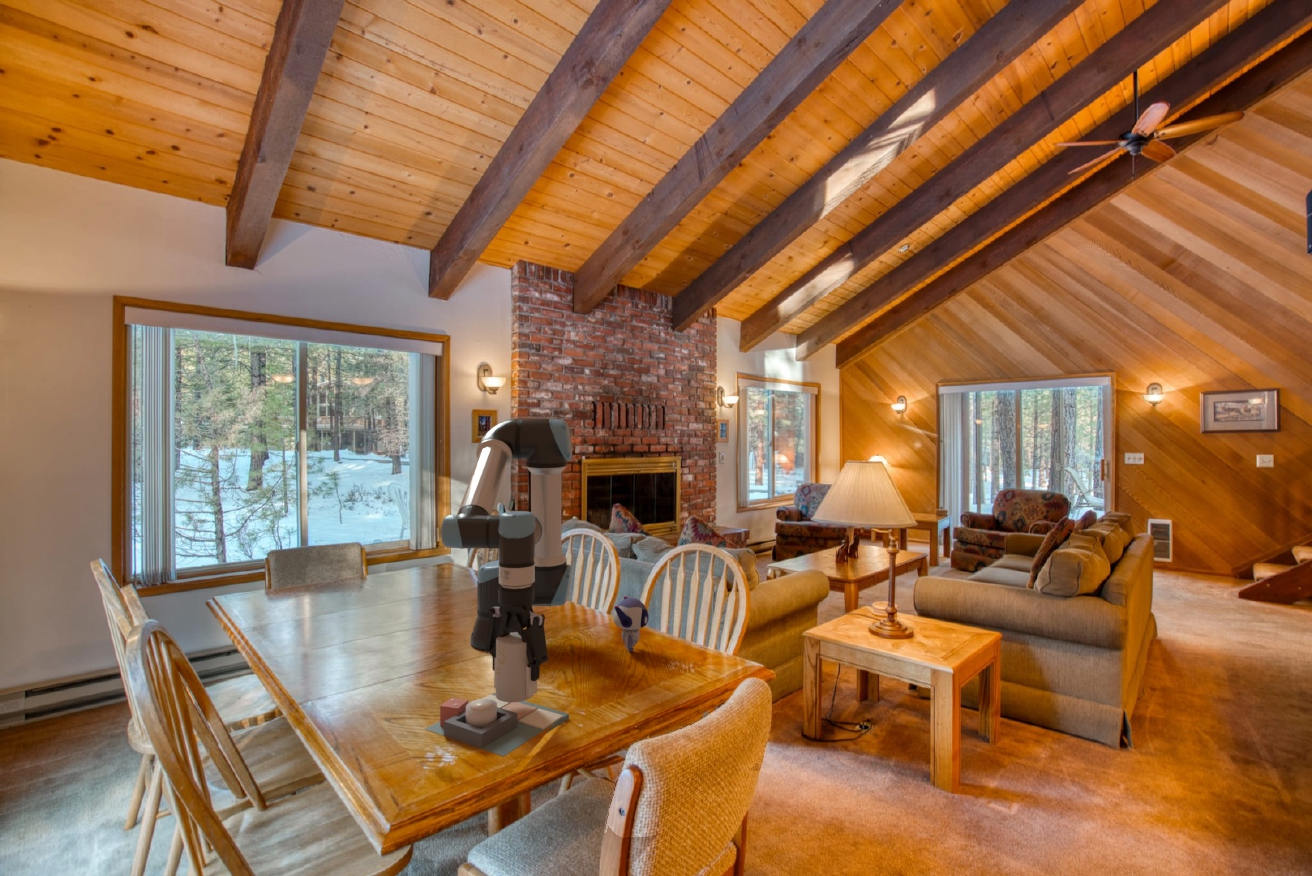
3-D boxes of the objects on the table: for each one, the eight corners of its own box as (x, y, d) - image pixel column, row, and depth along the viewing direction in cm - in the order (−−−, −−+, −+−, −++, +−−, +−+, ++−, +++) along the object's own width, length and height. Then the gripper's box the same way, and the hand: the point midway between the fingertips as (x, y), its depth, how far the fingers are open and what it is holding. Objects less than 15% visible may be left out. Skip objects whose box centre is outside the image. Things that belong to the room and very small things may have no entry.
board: (424, 733, 125) (424, 714, 124) (495, 697, 142) (495, 680, 142) (503, 761, 114) (503, 741, 114) (568, 718, 132) (569, 700, 132)
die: (440, 725, 126) (440, 704, 126) (451, 716, 130) (451, 696, 130) (457, 728, 125) (457, 706, 125) (468, 719, 129) (468, 698, 129)
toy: (643, 660, 166) (644, 604, 166) (608, 656, 168) (608, 601, 168) (651, 646, 177) (652, 594, 176) (618, 643, 179) (619, 592, 178)
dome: (459, 727, 123) (459, 705, 123) (481, 715, 128) (481, 694, 128) (481, 735, 120) (481, 712, 120) (503, 722, 125) (503, 701, 125)
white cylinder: (499, 686, 136) (499, 632, 136) (536, 686, 137) (537, 631, 137) (492, 702, 128) (493, 645, 128) (532, 701, 129) (532, 644, 129)
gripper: (467, 581, 134) (466, 686, 134) (543, 595, 124) (542, 708, 124) (492, 575, 141) (491, 675, 141) (566, 587, 131) (565, 694, 131)
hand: (515, 690), depth 132 cm, fingers closed on white cylinder, 8 cm apart
